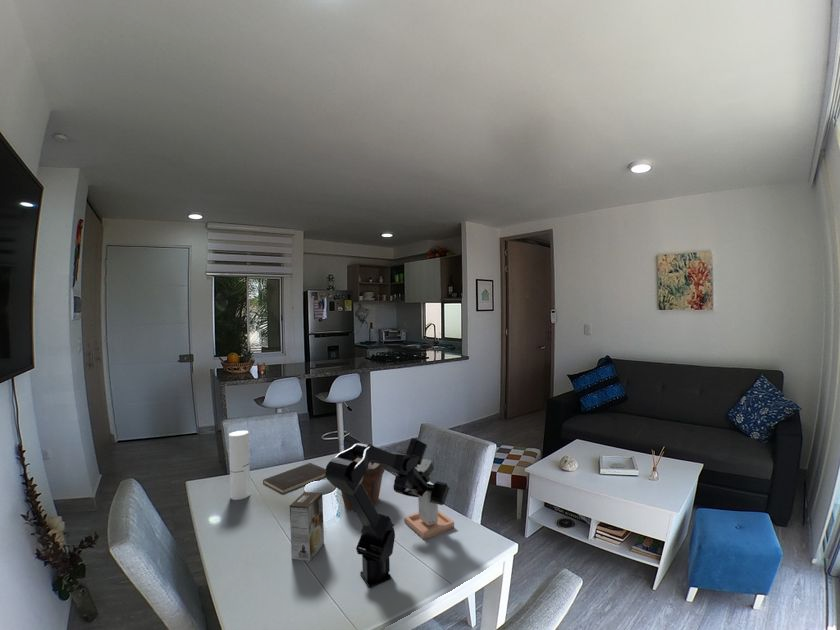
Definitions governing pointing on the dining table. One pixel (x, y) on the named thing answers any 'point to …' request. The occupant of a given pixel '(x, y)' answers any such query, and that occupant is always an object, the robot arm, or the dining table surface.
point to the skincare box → (428, 509)
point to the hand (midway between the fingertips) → (430, 498)
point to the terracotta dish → (430, 530)
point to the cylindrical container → (239, 464)
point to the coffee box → (306, 526)
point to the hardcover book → (295, 477)
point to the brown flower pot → (369, 482)
